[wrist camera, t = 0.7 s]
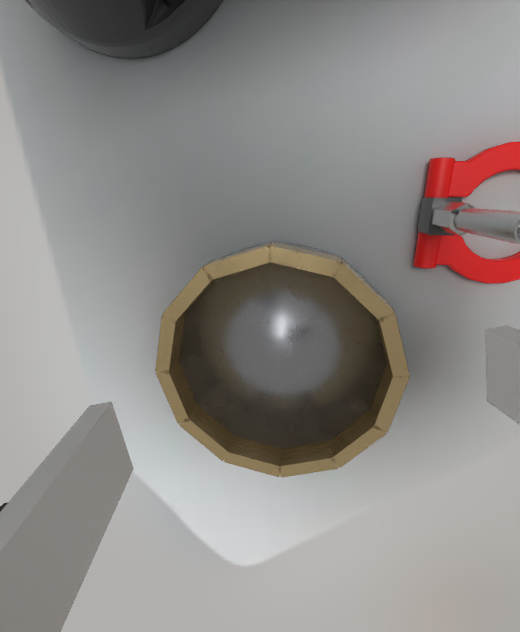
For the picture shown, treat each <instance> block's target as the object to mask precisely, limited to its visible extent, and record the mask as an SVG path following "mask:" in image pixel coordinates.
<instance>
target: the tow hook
mask: <svg viewBox="0 0 520 632" xmlns="http://www.w3.org/2000/svg"><path fill="white" fill-rule="evenodd" d="M506 170H519V171H520V142H510V143H505V144H502V145H499V146H496V147H492V148H489V149H486V150H484V151H482V152H480V153H479V154H477V155H475V156H474V157H472V158H470V159H468V160H467V161H455V159H454V158H433V159H430V163H429V169H428V175H427V182H426V188H425V195H424V198H423V199H422V203H421V209H420V216H419V222H418V228H417V230H418V232H419V233H418V239H417V245H416V252H415V258H414V264H413V265H414V266H416V267H419V268H436V265H448V266H449V267H450V268H451V269H452V270H454V271H455V272H457V273H459V274H461V275H462V276H464V277H466V278H468V279H471V280H475V281H479V282H483V283H506V282H510V281H514V280H519V279H520V252H518V253H516V254H514V255H512V256H509V257H505V258H501V259H486V258H482V257H479V256H478V255H476V254H474V253H473V252H472V251H471V250H470V249H469V248H468V247H467V246H466V244H465V242H464V240H463V238H462V237H461V235H464V234H466V233H471V234H475V235H480V236H484V237H489V238H493V239H498V240H502V241H507V242H511V243H516V244H520V212H515V211H502V210H489V209H476V208H474V207H473V206H471V205H470V204H468V203H462V199H461V198H448V197H467V196H468V195H470V194H471V193H472V192H473V190H474V189H475V188H476V187H477V186H478V185H480V184H481V183H482V182H483V181H484V180H486V179H487V178H489V177H491V176H493V175H494V174H496V173H499V172H503V171H506Z"/></svg>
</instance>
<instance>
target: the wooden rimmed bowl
mask: <svg viewBox="0 0 520 632" xmlns="http://www.w3.org/2000/svg"><path fill="white" fill-rule="evenodd" d="M155 371H157V372H156V375H157V377H158V379H159V382H160V384H161V386H162V388H163V391H164V393H165V395H166V398H167V400H168V402H169V404H170V407H171V409H172V411H173V413H174V416H175V418H176V420H177V423H180V424H179V425H180V426H181V427H182V428H183V429H184V430H186V431H187V432H188V433H189V434H190V435H192V436H193V437H194V438H195V439H197V440H198V441H199V442H200V443H201V444H203V445H204V446H205V447H206V448H207V449H209V450H210V451H211V452H212V453H213V454H215V455H216V456H217V457H218V458H219V459H221V460H222V461H223V460H224V459H225V460H224V462H226V463H230V464H234V465H237V466H241V467H244V468H248V469H251V470H255V471H259V472H262V473H266V474H269V475H273V476H277V477H279V476H281V477H287V476H293V475H300V474H306V473H313V472H319V471H326V470H332V469H338V467H339V468H340V467H342V466H343V465H344V464H346V463H347V462H349V461H350V460H351V459H353V458H354V457H355V456H357V455H358V454H359V453H361V452H362V451H364V450H365V449H366V448H368V447H369V446H370V445H372V444H373V443H375V442H376V441H377V440H379V439H380V438H381V437H383V436H384V435H385V434H386V432H388V430H389V427H390V425H391V422H392V420H393V417H394V415H395V412H396V410H397V407H398V405H399V402H400V400H401V397H402V395H403V392H404V390H405V387H406V385H407V383H408V380H409V371H408V367H407V363H406V358H405V354H404V350H403V345H402V341H401V337H400V332H399V328H398V324H397V319H396V315H395V313H394V311H393V309H392V308H391V307H390V305H389V304H388V302H387V301H385V300H384V299H383V298H382V297H381V296H380V295H379V294H378V293H377V292H376V291H375V290H374V289H373V288H372V286H371V285H370V284H369V283H368V282H367V281H366V280H365V279H364V278H363V277H362V276H361V275H360V274H359V273H358V272H357V271H355V270H354V269H353V268H352V267H351V266H349V265H348V264H347V263H346V262H345V261H344V260H343V259H342V258H341V259H340V258H339V257H337V256H333V255H330V254H328V253H326V252H323V251H321V250H317V249H314V248H311V247H307V246H301V245H295V244H281V243H277V242H274V243H273V244H272V242H270V243H267V244H264V245H258V246H254V247H250V248H246V249H243V250H241V251H238V252H236V253H233V254H231V255H229V256H226V257H223V258H220V259H217V260H213V261H211V262H209V263H208V264H206V265H205V266H203V267H202V268H201V269H200V270H199V271H198V272H197V274H196V275H195V276H194V277H193V278H192V280H191V281H190V282H189V283H188V284H187V285H186V287H185V288H184V289H183V290H182V291H181V293H180V294H179V295H178V296H177V297H176V299H175V300H174V301H173V302H172V303H171V305H170V306H169V307H168V308H167V309H166V310H165V312H164V313H163V315H162V320H161V328H160V337H159V345H158V353H157V362H156V370H155Z"/></svg>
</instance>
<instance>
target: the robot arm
mask: <svg viewBox="0 0 520 632" xmlns="http://www.w3.org/2000/svg"><path fill="white" fill-rule="evenodd" d="M25 1H26V2H27V3H28V4H29V5H30V6H31V7H32V8H33V9H34V10H35V11H36V12H37V13H38V14H39V15H40V16H41V17H43V18H44V19H45V20H46V21H47V22H49V23H50V24H51V25H53V26H54V27H56V28H57V29H59V30H60V31H62V32H63V33H65V34H66V35H68V36H69V37H71V38H72V39H74V40H75V41H77V42H78V43H80V44H82V45H84V46H85V47H87V48H89V49H92V50H94V51H96V52H99V53H102V54H105V55H109V56H113V57H120V58H140V57H147V56H152V55H155V54H158V53H162V52H164V51H166V50H169V49H171V48H173V47H175V46H177V45H178V44H180V43H181V42H183V41H184V40H186V39H187V38H189V37H190V36H191V35H192V34H194V33H195V32H196V31H197V30H198V29H199V28H200V27H201V26H202V25H203V24H204V23H205V22H206V21H207V20H208V18H209V17H210V16H211V15H212V14H213V12H214V11H215V10H216V8H217V7H218V5H219V4H220V2H221V1H222V0H25ZM485 334H486V379H487V401H488V402H489V403H491V404H492V405H493V406H495V407H496V408H497V409H499V410H500V411H502V412H503V413H504V414H506V415H507V416H508V417H510V418H511V419H513V420H514V421H515V422H517V423H518V424H519V425H520V330H517V329H515V328H512V327H510V326H503V327H497V328H492V329H487V330H485ZM132 471H133V466H132V463H131V460H130V457H129V454H128V450H127V447H126V444H125V441H124V438H123V435H122V432H121V429H120V426H119V423H118V420H117V417H116V414H115V411H114V408H113V405H112V402H107V403H102V404H96V405H91V406H89V407H88V408H87V410H86V411H85V412H84V413H83V414H82V416H81V417H80V418H79V419H78V420H77V422H76V423H75V424H74V425H73V426H72V427H71V429H70V430H69V431H68V432H67V433H66V435H65V436H64V437H63V438H62V439H61V441H60V442H59V443H58V444H57V445H56V446H55V448H54V449H53V450H52V451H51V452H50V454H49V455H48V456H47V457H46V458H45V460H44V461H43V462H42V463H41V464H40V466H39V467H38V468H37V469H36V470H35V471H34V473H33V474H32V475H31V476H30V477H29V479H28V480H27V481H26V482H25V483H24V485H23V486H22V487H21V488H20V489H19V491H18V492H17V493H16V494H15V495H14V496H13V498H12V499H11V500H10V501H9V502H8V503H4V504H3V505H2V506H0V632H61V629H62V627H63V625H64V623H65V620H66V618H67V616H68V614H69V612H70V609H71V607H72V605H73V603H74V600H75V598H76V596H77V593H78V591H79V589H80V587H81V585H82V582H83V580H84V578H85V576H86V573H87V571H88V569H89V567H90V565H91V562H92V560H93V558H94V556H95V553H96V551H97V549H98V547H99V544H100V542H101V540H102V538H103V536H104V533H105V531H106V529H107V526H108V524H109V522H110V520H111V517H112V515H113V513H114V511H115V509H116V506H117V504H118V502H119V500H120V498H121V495H122V493H123V491H124V489H125V486H126V484H127V482H128V479H129V477H130V475H131V473H132Z"/></svg>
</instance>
